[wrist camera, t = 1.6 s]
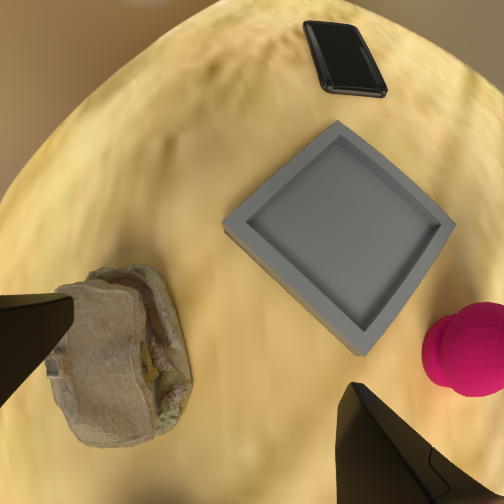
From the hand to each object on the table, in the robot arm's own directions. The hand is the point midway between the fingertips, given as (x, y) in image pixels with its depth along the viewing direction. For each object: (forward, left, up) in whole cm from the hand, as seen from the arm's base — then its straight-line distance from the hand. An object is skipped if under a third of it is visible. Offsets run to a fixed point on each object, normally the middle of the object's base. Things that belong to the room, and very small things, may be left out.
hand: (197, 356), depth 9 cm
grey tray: (0, -13, -14) cm, 19 cm away
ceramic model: (+5, +7, -15) cm, 17 cm away
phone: (+14, -32, -15) cm, 38 cm away
